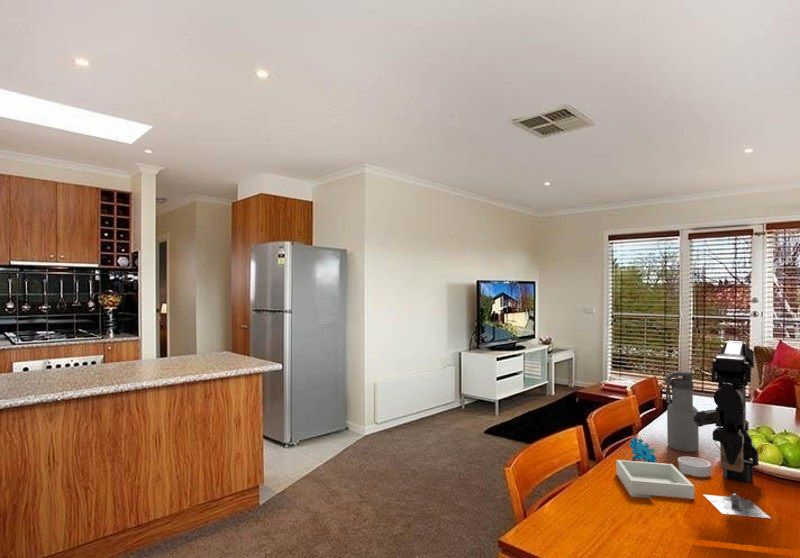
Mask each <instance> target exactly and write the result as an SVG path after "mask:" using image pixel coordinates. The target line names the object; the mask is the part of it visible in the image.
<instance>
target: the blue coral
mask: <svg viewBox="0 0 800 558" xmlns="http://www.w3.org/2000/svg"><path fill="white" fill-rule="evenodd" d="M629 443H630V444H629V448H631V449H632V450H631V452H632V455H634V456H632V457H631V459H632V461H636V460H638V461H639V462H641V460H644V461H643V462H652V463H658V462H657V458H658V457H657V456H656V455H654V454H655V451H656V449H655V448H654V447H652V448H649V447H650V445H649V443H648V442H646V443H644V440H643V439H642V438H639V439H638V438H637V437H632V438H631V439H630V440H629ZM643 443H644V444H643Z"/></svg>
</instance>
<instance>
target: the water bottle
mask: <svg viewBox="0 0 800 558" xmlns="http://www.w3.org/2000/svg"><path fill="white" fill-rule="evenodd" d="M693 376H694V373H693V372H691V371H680V370H679V371H678V370H675V371H670V372H669V373H668V374H666V375H665V378H664V383H665V384H666V387H665V400H666V403H667V404H668V405H667V408H666V409H667V410H666V412H667V413H666V414H667V415H666V419H667V420H666V421H667V422H666V423H667V425H666V426H667V430H666V432H667V435H666V436H667V445H668V447H669V448H670V449H673V450H675V451H679V452H684V453H695V452H698V451H699V449H700V448H699V446H700V445H699V444H700V441H699V437H700V436H699V427H698V426H697V424H696V422H694V417H693V414H694V413H696V412H697V411H699V410H698V409H697V407H696V406H694V405H693V402H694V400H693V399H694V397H693V395H694V394H693V393H694V392H693V391H694V381H693ZM675 377H676V378H675Z"/></svg>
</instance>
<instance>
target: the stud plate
mask: <svg viewBox="0 0 800 558" xmlns="http://www.w3.org/2000/svg"><path fill="white" fill-rule="evenodd" d="M703 496H704V497H705V499H707V501H709V503H711V504H712V505H713V506H714V507H715V508H716V509H717V510H718V511H719V512H720V513H721V515H732V516H741V517H751V518H761V519H763V518H764V519H771V516H769V515H768V514H767V513H766V512H764V510H762V508H760V507H759V506H758V505H756V504H755V503H754V502H753V501H751V499H749V498H745V497H741V496H739V494H736V493H731V494H730V495H729V496H724V495H723V496H722V495H713V494H712V495H711V494H703Z"/></svg>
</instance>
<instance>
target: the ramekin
mask: <svg viewBox="0 0 800 558" xmlns="http://www.w3.org/2000/svg"><path fill="white" fill-rule="evenodd" d="M677 463H678V470H679V471H680V472H681V473H682V474H683V475H689V476H693V477H699V478H706V477H710V473H711V467H712V464H711V462H710V461H708V460H705V459H703V458H699V457H695V456H694V457H693V456H688V455H687V456H679V457H678V458H677Z"/></svg>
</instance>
